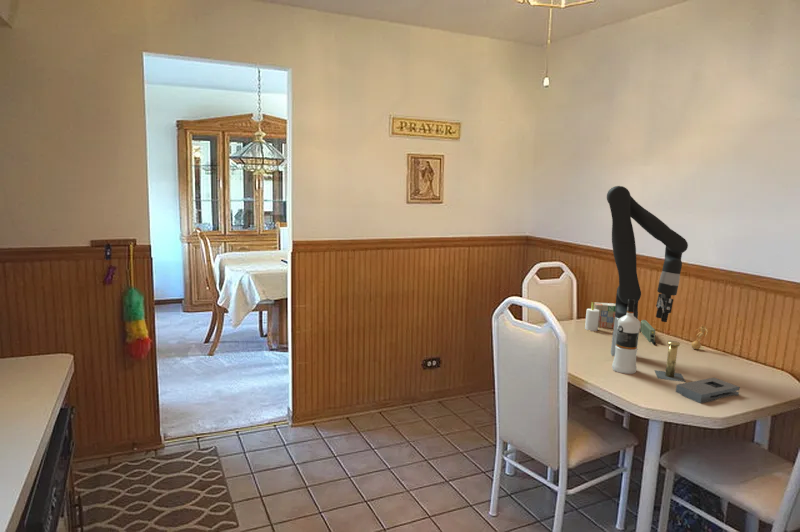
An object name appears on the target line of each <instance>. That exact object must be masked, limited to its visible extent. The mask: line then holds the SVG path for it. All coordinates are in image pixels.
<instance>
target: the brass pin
mask: <svg viewBox="0 0 800 532" xmlns="http://www.w3.org/2000/svg"><path fill="white" fill-rule="evenodd" d="M666 343H667V345H668V348H667V349H668V350H667V358H666V364H665V365H666V366H665V372H666V373H665V376H667V377H674V374H675V373H676V365H677V358H678V357H677V356H678V348H679V347H680V345H681V342H680V341H677V340H667V342H666Z"/></svg>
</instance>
